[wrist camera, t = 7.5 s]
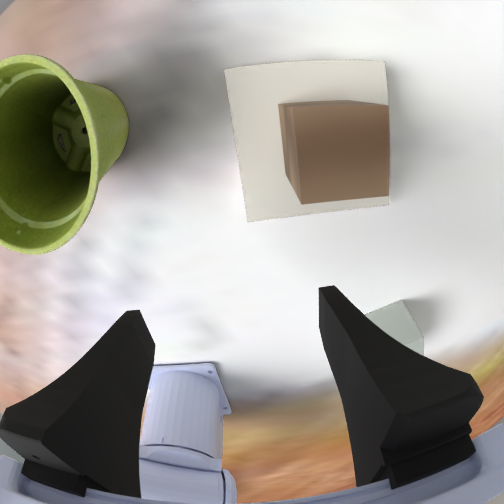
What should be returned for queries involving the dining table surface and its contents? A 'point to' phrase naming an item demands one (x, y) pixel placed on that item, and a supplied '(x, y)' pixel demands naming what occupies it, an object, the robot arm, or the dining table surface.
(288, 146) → the walnut block
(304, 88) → the cream block
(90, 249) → the dining table surface
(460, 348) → the dining table surface
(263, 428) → the dining table surface
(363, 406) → the robot arm
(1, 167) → the plant pot
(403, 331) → the grey cube
